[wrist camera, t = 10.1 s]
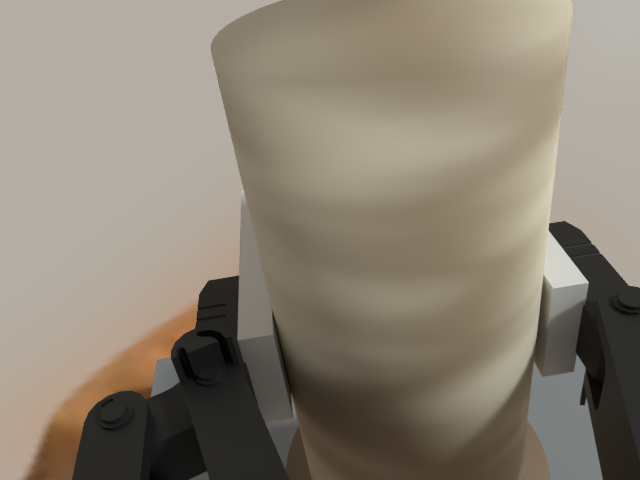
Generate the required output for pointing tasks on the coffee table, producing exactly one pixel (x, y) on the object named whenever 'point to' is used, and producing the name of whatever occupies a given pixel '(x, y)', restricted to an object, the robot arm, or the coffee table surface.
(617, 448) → the robot arm
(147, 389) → the coffee table surface
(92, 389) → the coffee table surface
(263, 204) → the ash leg
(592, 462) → the leg board
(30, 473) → the coffee table surface
